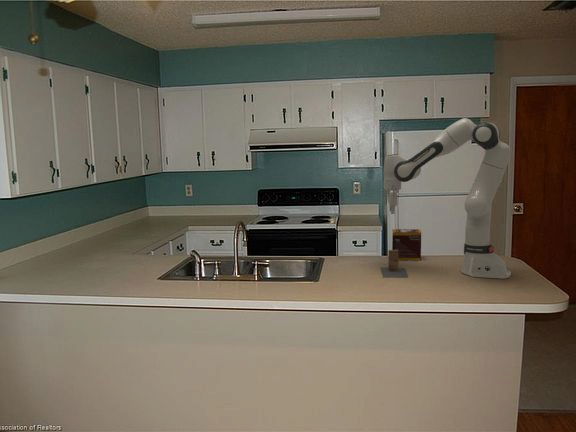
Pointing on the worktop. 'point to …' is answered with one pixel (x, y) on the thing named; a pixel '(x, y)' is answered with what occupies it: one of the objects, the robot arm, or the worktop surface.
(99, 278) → the worktop surface
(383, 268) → the rubber mat
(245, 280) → the worktop surface
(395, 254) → the walnut block
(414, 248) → the supplement box
